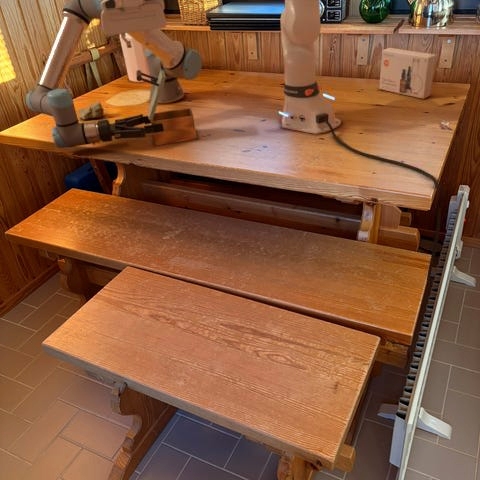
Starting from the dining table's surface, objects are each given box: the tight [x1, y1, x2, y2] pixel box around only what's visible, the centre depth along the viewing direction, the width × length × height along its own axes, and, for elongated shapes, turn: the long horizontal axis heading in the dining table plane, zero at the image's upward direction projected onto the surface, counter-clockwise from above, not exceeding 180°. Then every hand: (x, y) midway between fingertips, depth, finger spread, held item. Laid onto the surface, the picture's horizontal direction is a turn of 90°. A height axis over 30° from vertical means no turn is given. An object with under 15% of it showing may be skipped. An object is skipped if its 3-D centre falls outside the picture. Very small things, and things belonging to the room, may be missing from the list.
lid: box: [136, 70, 166, 121], centre depth 159 cm, size 16×9×9 cm
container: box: [119, 28, 161, 83], centre depth 235 cm, size 21×21×28 cm
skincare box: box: [378, 47, 437, 100], centre depth 184 cm, size 21×6×16 cm, turn 40°
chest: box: [150, 107, 198, 146], centre depth 167 cm, size 15×9×9 cm, turn 101°
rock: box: [78, 101, 105, 121], centre depth 195 cm, size 11×6×10 cm
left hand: (162, 122), depth 166 cm, fingers closed on chest, 9 cm apart
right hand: (138, 46), depth 151 cm, fingers open, 5 cm apart
